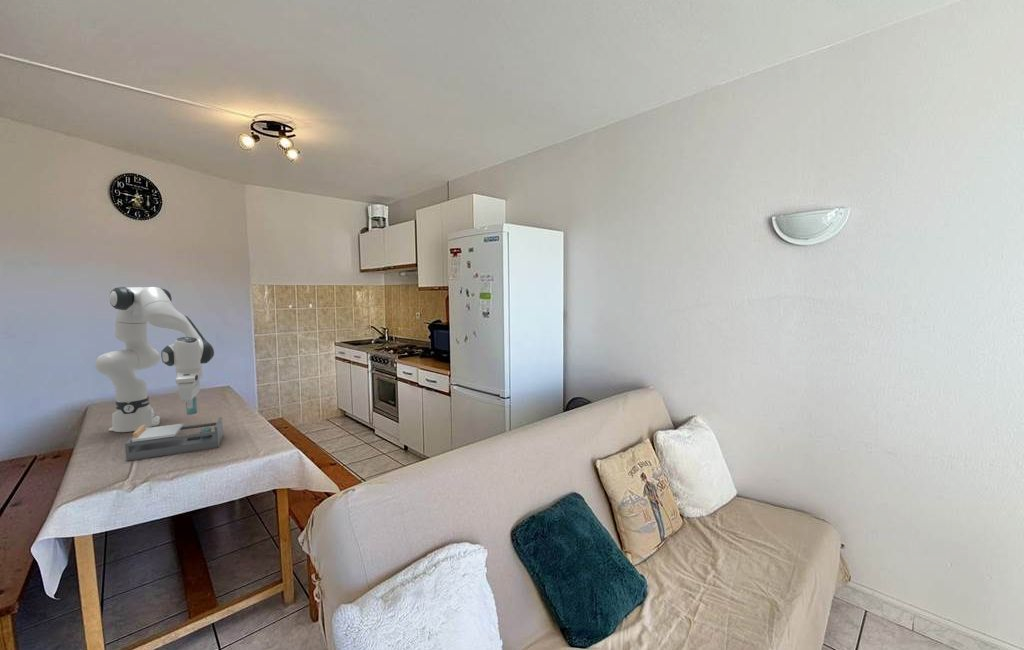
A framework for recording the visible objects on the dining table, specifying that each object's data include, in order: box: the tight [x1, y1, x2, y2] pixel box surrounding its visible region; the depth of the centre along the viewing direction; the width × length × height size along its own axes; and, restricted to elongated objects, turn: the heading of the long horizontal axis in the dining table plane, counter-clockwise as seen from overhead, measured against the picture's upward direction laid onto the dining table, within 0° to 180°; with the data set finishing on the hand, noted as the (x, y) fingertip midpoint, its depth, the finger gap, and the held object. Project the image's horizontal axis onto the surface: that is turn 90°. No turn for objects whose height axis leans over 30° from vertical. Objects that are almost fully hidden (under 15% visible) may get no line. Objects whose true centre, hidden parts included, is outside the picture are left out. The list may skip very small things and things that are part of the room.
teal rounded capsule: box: [185, 397, 198, 416], centre depth 178 cm, size 4×4×6 cm
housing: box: [124, 417, 224, 462], centre depth 176 cm, size 15×30×9 cm, turn 119°
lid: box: [132, 423, 184, 442], centre depth 173 cm, size 15×14×3 cm
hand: (191, 406), depth 178 cm, fingers closed on teal rounded capsule, 4 cm apart
